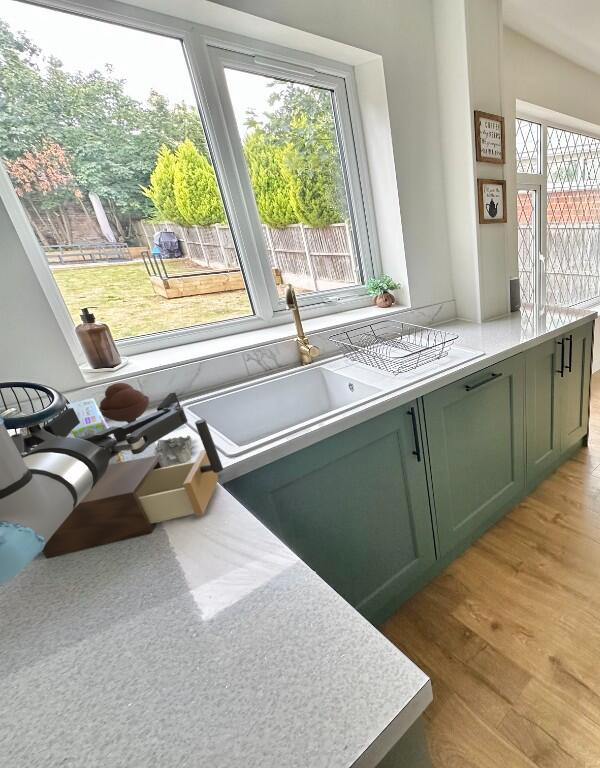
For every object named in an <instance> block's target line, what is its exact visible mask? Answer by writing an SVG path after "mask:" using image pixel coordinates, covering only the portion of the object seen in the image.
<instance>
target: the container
mask: <svg viewBox="0 0 600 768" xmlns="http://www.w3.org/2000/svg"><path fill="white" fill-rule="evenodd" d="M194 425H195V427H196V430H197V432H198V435H199V438H200V440H201V443H202V445H203V448H204V449H201V450H200V452H199V454H198V456H197V458H196V460H194V461H189V462H185V463H179V464H173V465H170V466H169V467H164V468H159V469H154V470H152V471H151V473H150V474H149V476H148V477H147V478H146V480H145V481H144V483H143V484H142V486H141V487H140V489H139V490H138V491H137V493H136V494H137V496H138V498H139V500H140V502H141V505H142V507H143V509H144V511H145V513H146V515H147V517H148V519H149V521H150V523H151V524H152V523H156V522H158V523H160V522H165V521H169V520H174V519H177V518H181V517H184V516H185V517H186V516H190V515H194V514H195V516H196V517H199V516H203V515H204V514H205V512H206V509H207V507H208V504H209V502H210V500H211V497H212V495H213V492H214V490H215V488H216V485H217V483H218V481H219V476H218V473H220V472H223V470H224V467H223V464H222V462H221V458H220V456H219V453H218V450H217V448H216V445H215V442H214V439H213V437H212V433H211V432H210V427H209V426H208V423H207V420H206V419H203V418H201V419H198V420H196V421H195V422H194Z"/></svg>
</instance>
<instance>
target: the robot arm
mask: <svg viewBox="0 0 600 768" xmlns="http://www.w3.org/2000/svg"><path fill="white" fill-rule="evenodd" d="M188 421H189V420H188V418H187V416H186V413H185V411H184V408H183V407H182V406H181V403H180V400H179V399H178V396H177V394H176V392H170V393H169V394H168V395H167V396H166V397H165V398H164V399H163V401H162V402H161V403H160V404H159V405H158V406H157V408H156V411H155V412H152V413H150V414H148V415H146V416H143V417H141V418H137V419H136V421H134V422H131V423H129V424H128V423H126V424H124V425H122V426H116V425H114V426H113V425H112V426H110V427H109V428H108V429H106V430H103V431H101V432H98V433H96V434H94V433H92V434H89V435H86V436H83V437H76V438H75V436H67V435H68V434H69V433H70V432H72V431H71V430H72V429H74V428H75V427H76V426H77V425H78V424H79V423H80V421H79V419H78V417H77V415H76V413H75V411H74V409H73V408H69V409H68V408H66V409H64V410H63V411H62V412H60V413H59V414H58V415H57V416H55V417H54V418H52V419H51V420H50V421H49V422H47V423H46V424H43V426H41V425H40V424H39V423H34V424H31V425H28V426H27V427H26V429H27V430H28V432H29V434H25V435H24V434H23V433H22V432H21V433H14V434H12V435H10V433H9V431H8V430H7V428H6V426H5V424H4V423H5V420H4V419H3V418H2V417H1V416H0V586H2V585H4V584H6V583H7V582H10V581H11V580H12V579H13V578H14V577H16V576H17V575H18V574H19V573H20V572H21V571H22V570H23V569H24V568H25V567H26V566H27V565H28V564H29V563H30V562H31V561H32V560H33V559H34V558H35V557H37V556H38V555H39V554H41V553H42V550H43V548H44V546H45V544H46V543H47V542H48V540H49V539H50V538H51V536H52V535H53V534H54V533H55V531H56V530H57V529H58V528H59V527H60V525H61V524H62V523H63V522H64V521H65V519H66V518H67V517H68V516H69V515H70V514H71V513H72V511H73V510H74V509H75V507H76V506H77V505H78V504H79V503H80V502H81V500H82V499H83V498H84V497H85V496H86V495H87V493H88V492H89V491H90V490H91V489H92V488H93V487H94V486H95V485H96V484H97V482H98V481H99V480H100V479H101V478H102V476H103V475H104V474H105V472H106V470H107V467H108V464H109V460H110V459H111V458H112V457H114V456H116V455H117V454H118V453H119V452H120V453H121V452H123V451H131V453H132V455H138V454H141V453H143V452H144V451H145V450H146V449H148V447H149V446H150V445H152V444H154V443H155V442H158V440H161V439H162V438H164V437H165V436H167V435H169V434H171V433H172V432H174V431H175V430H177V429H179V428H180V427H182V426H184V425H185V424H187V423H188ZM111 434H112V435H113V437H114V439H113V438H112V437H110V436H109V435H111ZM31 447H33V449H32V448H31Z"/></svg>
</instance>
